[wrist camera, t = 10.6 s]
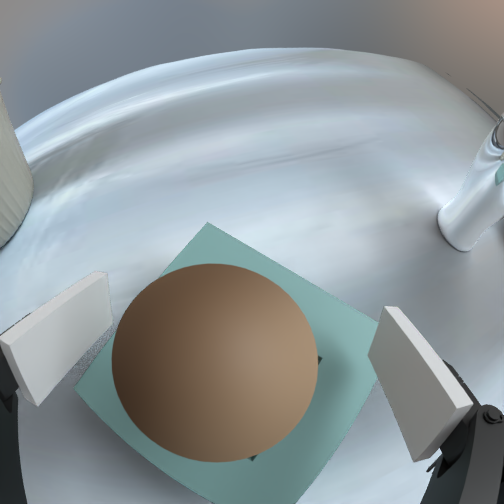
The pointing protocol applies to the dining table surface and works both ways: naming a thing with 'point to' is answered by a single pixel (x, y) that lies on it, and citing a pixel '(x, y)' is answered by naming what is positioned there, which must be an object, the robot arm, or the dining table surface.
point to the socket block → (309, 427)
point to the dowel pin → (214, 362)
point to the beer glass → (477, 195)
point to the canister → (12, 179)
